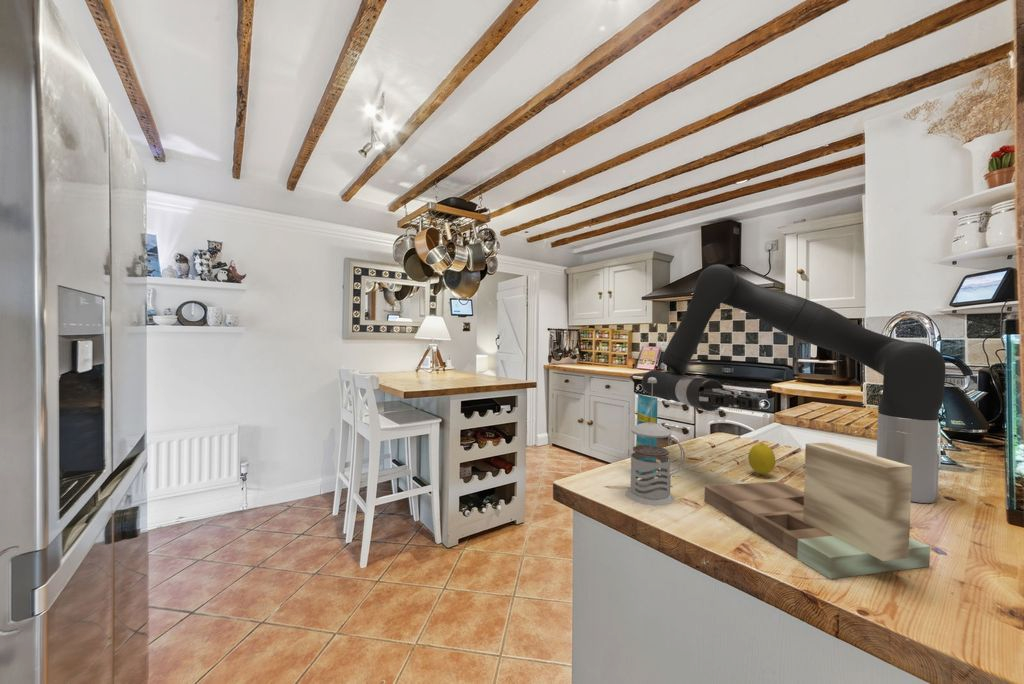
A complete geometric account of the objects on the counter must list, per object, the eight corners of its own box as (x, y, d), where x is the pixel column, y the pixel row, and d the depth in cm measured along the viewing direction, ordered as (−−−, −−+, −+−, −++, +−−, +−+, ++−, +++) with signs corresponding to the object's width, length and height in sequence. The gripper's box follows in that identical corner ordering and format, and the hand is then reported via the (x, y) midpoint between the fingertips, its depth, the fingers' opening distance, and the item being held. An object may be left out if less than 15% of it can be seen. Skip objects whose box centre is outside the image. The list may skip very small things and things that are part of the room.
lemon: (779, 480, 93) (780, 447, 92) (753, 478, 94) (754, 445, 94) (768, 472, 98) (769, 440, 98) (744, 470, 99) (745, 439, 99)
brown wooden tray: (779, 495, 84) (779, 481, 84) (929, 566, 58) (930, 546, 58) (704, 500, 80) (704, 486, 80) (829, 578, 55) (830, 557, 55)
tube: (627, 470, 98) (629, 393, 97) (643, 468, 100) (644, 392, 99) (648, 480, 91) (651, 398, 91) (665, 478, 93) (667, 397, 93)
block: (825, 518, 67) (827, 442, 67) (908, 558, 55) (912, 466, 55) (803, 520, 66) (805, 443, 66) (882, 561, 54) (886, 467, 54)
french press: (621, 485, 88) (624, 374, 88) (675, 488, 87) (678, 375, 86) (630, 504, 78) (633, 379, 78) (690, 507, 77) (694, 380, 77)
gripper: (674, 378, 95) (726, 386, 78) (722, 376, 98) (783, 384, 81) (674, 409, 95) (727, 424, 78) (722, 406, 98) (783, 421, 81)
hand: (755, 404), depth 79 cm, fingers closed
